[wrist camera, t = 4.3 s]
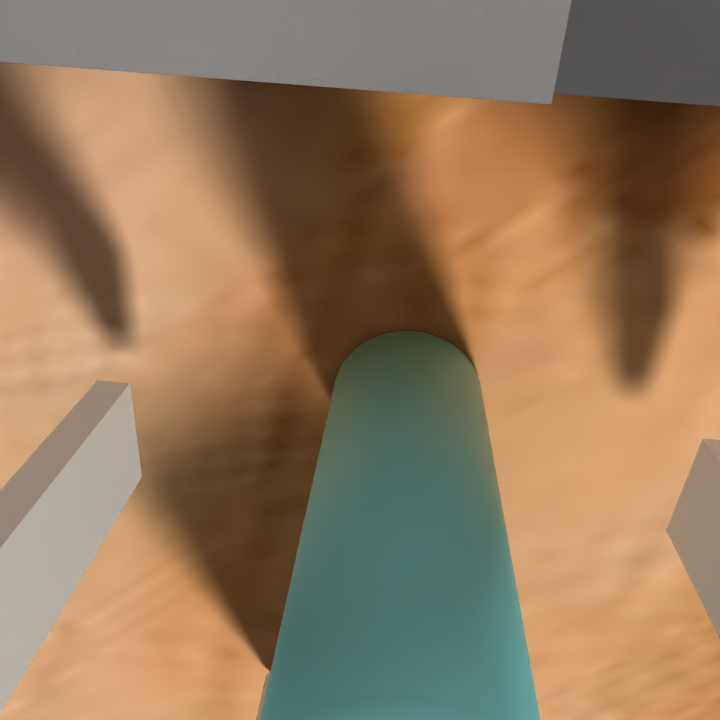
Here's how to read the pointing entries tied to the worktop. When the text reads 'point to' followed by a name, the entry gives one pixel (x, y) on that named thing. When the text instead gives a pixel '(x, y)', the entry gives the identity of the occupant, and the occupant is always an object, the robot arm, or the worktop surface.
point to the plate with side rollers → (390, 44)
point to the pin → (403, 553)
